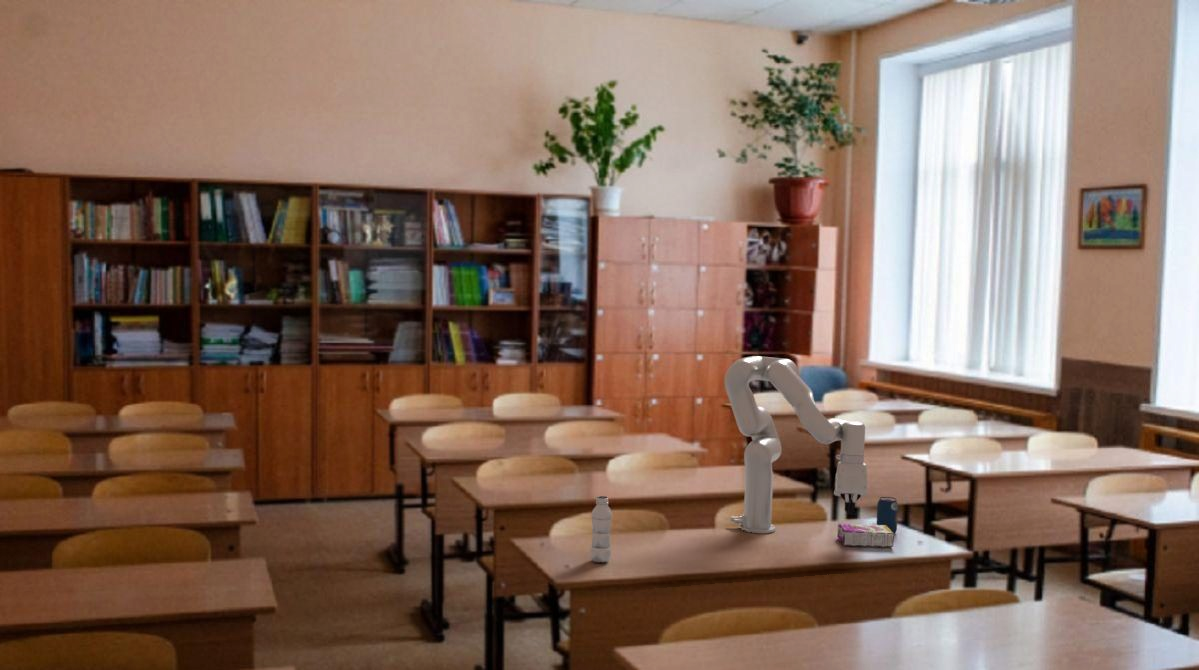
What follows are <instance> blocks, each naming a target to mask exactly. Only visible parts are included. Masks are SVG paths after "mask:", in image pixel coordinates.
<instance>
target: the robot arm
mask: <svg viewBox="0 0 1199 670" xmlns="http://www.w3.org/2000/svg"><path fill="white" fill-rule="evenodd" d="M798 372H799V371H798V367H797V365H796V363H795V362H794V361H793V360H791V359H789V358H781V357H780V358H779V357H772V356H771V357H769V356H761V355H760V356H759V355H752V356H747V357H742V358H739V359H737V360H735V361H734V362H733V363H731V365H730V366H729V367H728V369H727V370H726V372H725V376H724V388H725V391H726V395H727V397H728V401H729V404H730V405H731V410H732V412H733V415H734V418H735V421H736V425H737V428H738V430H739V432H740V433H741V434H742V435H743V436H745V437H751V439H752V441H750V442H749V443H748V444H747V446H746V447H745V449H744V454H743V461H744V471H745V472H744V473H745V474H744V503H743V506H744V507H743V513H742V514H741V515H739V516H736V515H735V516H733V515H732V516H730V518H729V519H730V521H729V522H730V523H734V524H738V529H739V528H741V529H743V530H745V531H744V532H746V531H747V532H746V533H750V532H752V533H751V534H771V533H774V532H775V531H776V526H775V525H774V524H772V509H773V486H774V485H773V484H774V474H773V465H772V464H773V463H774V462H776V461H777V460H778V459H779V458H780V456H781V454H782V443H781V440H780V437H779V434H778V431H777V428H776V425H775V422H774V420H773V417H772V416H771V413H770V412H769V411H768V410H767V409H766V408H765V407H762V406H758V404H757V402H756V398H755V395H754V393H753V392H752V391H753V390H751V388H750V385H749V384H750V383H751V382H754V381H765V382H770V383H771V385H773V387H774V388H775V390H777V391H778V392H779V393H780V395H781V396H782V397H783V398H784V399H785V401H787V402H788V404H789V405H791V407H792V409H793V411H794V413H795V415H796V416H797V418H798V419H799V422H800V423H801V425H802V426H803V427H804V428H805V429H806V430H807V432H808V433H809V434H810V435H811V436H812V437H813V438H814V439H815V440H816V441H818V443H821V444H824V445H829V444H832V443H834V442H836V441H840V453H839V454H836V455H835V458H836V460H839V461H838V463H837V467H836V473H835V478H834V492H833V495H834V496H836V497H841V498H842V499H843V501H844V512H845V513H846V514H847V515H854V512H855V508H856V502H858V500H859V499H860V498H866V497H867V496H868V495H867V494H868V493H867V492H868V469H867V468H868V467H867V464H866V463H865V461H864V459H865V458H864V457H865V442H866V440H865V439H866V425H865V424H864V423H863V422H860V421H856V420H855V421H853V420H850V421H849V420H848V421H847V420H843V419H840V418H835V417H834V418H833V417H832V418H826V417H825V415H823V413H822V412H821V411H820V409H819V408H818V406H817V405H816V403H815V399H814V393H813V391H812V389H811V387H809V386H808V384H807V383H806V382H805V381H804V380H803V379H802V378H801V377H800V376H799V375H798ZM849 495H851V497H850V498H849ZM741 529H740V530H741ZM743 530H742V531H743Z"/></svg>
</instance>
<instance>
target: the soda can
mask: <svg viewBox="0 0 1199 670" xmlns="http://www.w3.org/2000/svg"><path fill="white" fill-rule="evenodd" d="M898 513H899V503H898V501H897V498H895V497H890V496H880V497H879V500H877V506H876V524H875V525H886V526H887V527H888V528H889V529H890V530H891V531H892V532H893V533H894V535H895V533H897V530H898Z"/></svg>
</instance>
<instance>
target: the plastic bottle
mask: <svg viewBox="0 0 1199 670" xmlns="http://www.w3.org/2000/svg"><path fill="white" fill-rule="evenodd" d="M595 499H596V500H595V504H596V505H595V506H594V508H593V509H592V510H591V511H592V512H591V525H592V537H591V538H592V539H591V546H590V551H589V557H590V559H591V561H592V562H594V563H600V562H601V563H607V562H609V561H610V560H611V555H612V549H611V539H610V538H611V537H610V536H611V535H610V534H611V533H610V532H611V524H612V520H613V512H612V510H611V508H610V507H609V497H608V496H605V495H599V496H596V498H595Z"/></svg>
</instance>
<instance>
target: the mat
mask: <svg viewBox="0 0 1199 670" xmlns="http://www.w3.org/2000/svg"><path fill="white" fill-rule="evenodd" d="M844 546H845V547H850V546H849V545H844ZM860 547H862V548H863V547H864V548H878V547H877V546H860ZM884 548H889V549H891V548H892V547H884Z"/></svg>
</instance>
